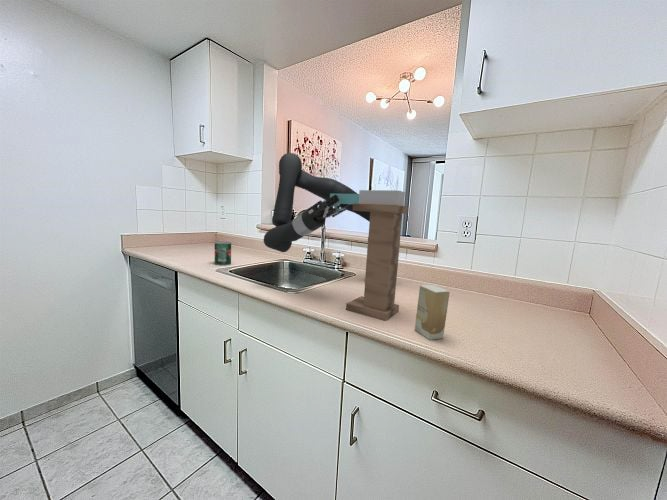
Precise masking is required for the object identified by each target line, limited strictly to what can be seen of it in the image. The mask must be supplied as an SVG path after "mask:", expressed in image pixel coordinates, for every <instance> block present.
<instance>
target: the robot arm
mask: <svg viewBox="0 0 667 500" xmlns="http://www.w3.org/2000/svg"><path fill="white" fill-rule="evenodd" d="M278 174H279V182H278V189H277V194H276V198H275V204H274V208H273V214H272V218H271V219H272V220H271V223H272V224H273V226H275V227H272V228H270V229H269V230H267V231H266V232H265V234H264V236H263V243H264V245H265V247H267V248H269V249H271V250H275V251H278V252H280V253H287V252H288V251H289V250H290V248H291V247H292V244H293V242H297V241H298V240H300V239H302V238H303V237H305V236H307V235H309V234H312V233H313V232H315V231H316V230H318V229H320V228H321V227H323V226H325V225H326V221H327V220H326V218H331V217H332V218H335V217H336V216H338V215H340V214H342V213H343V212H346V211H348V212H351V213H354V214H355V215H357V216H358V215H359V216H360V217H361V218H363V219H365V220H366V221H368V222H369V223H370V212H366V211H353V204H336V203H337V202H339V198H338V196H337V195H334V196H332V197H331V198H330V193H331V194H358V192H357V191H355V190H354V189H352V188H350V187H349V186H347V185H345V184H344V183H342V182H340V181H338V180H337V179H334V178H330V177H322V176H321V177H320V176H315V175H313V174H310V173H308V172H307V171H305V170H303V163H302V160H301V158H300V156H298V155H297V154H295V153H293V152H288V153H285V154H283V155H282V156H281V157H280V159H279V161H278ZM295 187H298V188H299V189H300V188H301V189H302V190H305V191H306V192H309V193H311V194H313V195H315V196H317V197H319V198H320V199H323V201H322V200H319V201H317V202H316V203H314V204H313V205H311V206H310V207H309V208H307V209H306V210H304V211H303V212H301V213H299V214H297V216H296V217H295V218H293V219H292V217H293V208H294V197H295V196H294V195H295V189H296V188H295ZM368 237H369V235H368V236H367V238H368ZM366 247H367V248H366V251H367V250H368V245H367V246H366ZM365 260H366V262H365V264H366V263H367V259H365ZM364 276H365V277H366V272H365V274H364ZM365 277H364V278H365Z"/></svg>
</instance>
